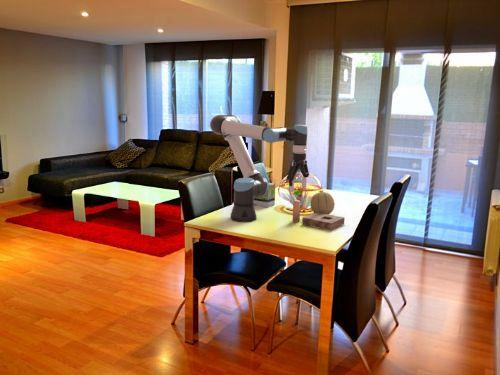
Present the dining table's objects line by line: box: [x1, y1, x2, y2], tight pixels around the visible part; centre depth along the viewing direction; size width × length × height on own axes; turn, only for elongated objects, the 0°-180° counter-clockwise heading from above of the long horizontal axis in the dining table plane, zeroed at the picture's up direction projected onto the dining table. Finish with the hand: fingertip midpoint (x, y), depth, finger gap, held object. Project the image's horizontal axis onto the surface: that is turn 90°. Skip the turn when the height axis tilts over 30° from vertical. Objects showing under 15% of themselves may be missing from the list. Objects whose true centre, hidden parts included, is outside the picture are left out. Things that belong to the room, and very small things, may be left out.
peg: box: [292, 199, 301, 223], centre depth 248 cm, size 4×4×12 cm
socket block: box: [301, 212, 346, 231], centre depth 244 cm, size 18×16×4 cm
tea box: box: [254, 182, 276, 208], centre depth 287 cm, size 15×10×15 cm
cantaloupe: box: [310, 190, 336, 215], centre depth 262 cm, size 15×15×15 cm
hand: (297, 189), depth 246 cm, fingers open, 13 cm apart
